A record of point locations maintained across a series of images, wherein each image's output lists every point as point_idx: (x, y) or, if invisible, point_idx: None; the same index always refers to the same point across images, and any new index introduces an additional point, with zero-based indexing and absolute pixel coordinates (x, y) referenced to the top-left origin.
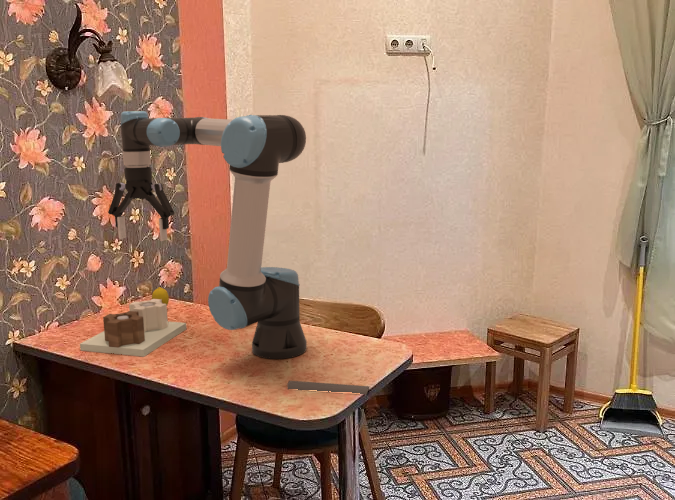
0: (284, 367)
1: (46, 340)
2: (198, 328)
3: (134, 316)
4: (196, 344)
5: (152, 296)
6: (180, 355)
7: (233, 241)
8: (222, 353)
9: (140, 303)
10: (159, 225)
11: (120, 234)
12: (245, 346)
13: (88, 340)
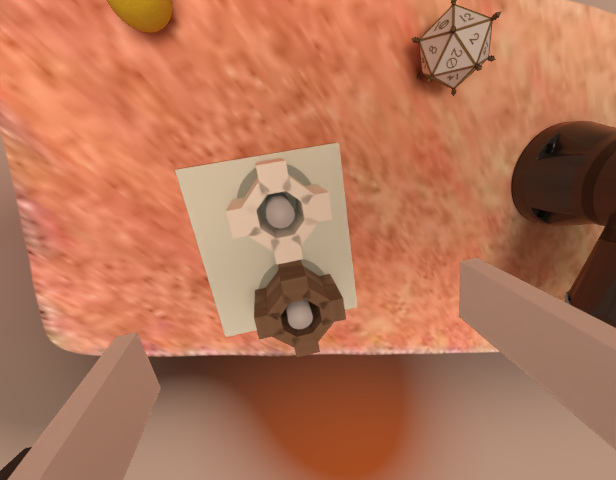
0: (576, 239)
1: (110, 324)
2: (357, 126)
3: (324, 305)
4: (405, 214)
5: (122, 16)
6: (407, 269)
7: None
8: (469, 231)
9: (257, 219)
10: (562, 402)
11: (145, 420)
12: (494, 185)
13: (225, 319)
